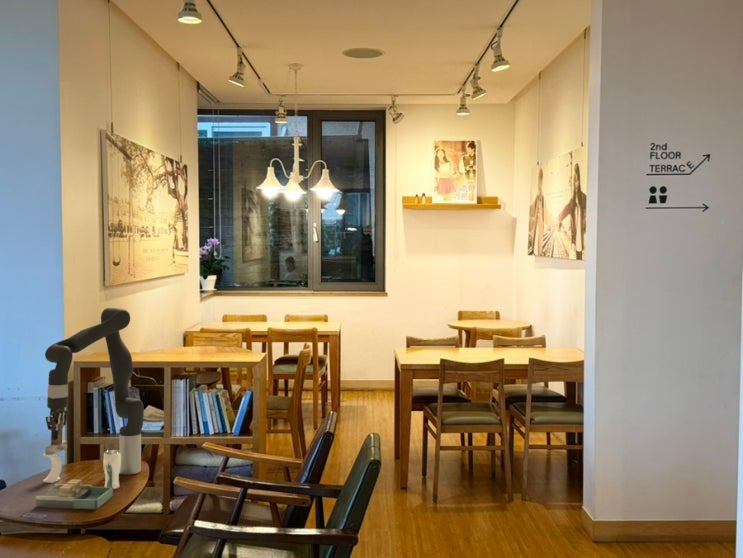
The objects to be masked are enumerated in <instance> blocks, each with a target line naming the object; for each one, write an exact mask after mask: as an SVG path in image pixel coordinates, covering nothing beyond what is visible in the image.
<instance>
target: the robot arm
mask: <svg viewBox="0 0 743 558" xmlns="http://www.w3.org/2000/svg"><path fill="white" fill-rule="evenodd" d="M130 322H131V314H130V312H129V311H127V310H126V309H124V308H117V307H115V308H114V307H107V308H105V309H103V311H102V312H101V315H100V323H98V324H96V325H93V326H90V327H87V328H84V329H82V330H80V331H77V333H75V334H73V335H71V336H69V338H66V339H63V340H59V341H57V342H55V343H53V344H51V345H50V346H48V347H47V349H46V351H45V353H44V356H45V359H46V361H48V362H50V363H54V364H55V368H53V369H51V370H49V372H48V385H47V395H46V397H47V400H46V401H47V402H46V407H47V408H48V409H50V411H49V415H48V416H45V421H46V426H47V429H48V431H50V440H51V439H52V440H57V439H58V424H60V420H61V421H62V423H63V426H62V429H63V428H64V426H66V425H67V419H68V415H69V410H66V409H65V408H67V407H68V406H69V384H68V382H69V372H70V368H71V365H72V361H73V354H78V353H79V352H81V351H83V350H84V349H86V348H88V347H89V346H91V345H93V344H94V343H96V342H97V341H100V340H102V339H103V338H105V341H106V347H107V348H106V349H107V352H108V358H109V365H110V366H109V367H110V370H111V375H112V383H113V390H114V407H115V413H116V415H117V416H118V417H119V418H120V419H126V420H127V422H126V425H123V426H121V427H120V428H119V443H118V444H119V447H118V448H119V449H118V450H119V451H121V467H120V473H119V475H127V476H128V475H129V476H130V475H135V474H139V473H140V472H141V471H142V428H143V425H144V410H145V406H144V403H143V401H142V400H141V399H138V398H135V397H134V398H133V397H130V394H129V382H130V380H131V377H132V376H133V374H134V373H133V372H134V366H133V365H134V364H133V359H132V358H133V357H132V354H131V352H130V350H129V349H128V347H127V346H126V344H125V342H124V341H123V340H122V338H121V335H120V331H121V330H124V329H126V328H127V327H128V326H129V324H130ZM54 421H56V422H54ZM55 425H56V426H55ZM51 431H52V432H51Z"/></svg>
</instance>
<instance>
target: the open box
mask: <svg viewBox="0 0 743 558" xmlns="http://www.w3.org/2000/svg"><path fill="white" fill-rule="evenodd" d="M64 484H65V483H55V484H54V487H52V488H51V489H50V490H48V491H47V492H45V493H44V494H42V495H35V507H36V508H44V509H45V508H49V509H69V510H70V509H72V510H73V509H74V499H86V498H87V497H88V496H90V495H91V487H93V485H92V484H82V490H81V491H79V492H78V493H74V495H73V496H72V497H59V488H60V487H61V486H63V485H64ZM74 510H75V509H74Z"/></svg>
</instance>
